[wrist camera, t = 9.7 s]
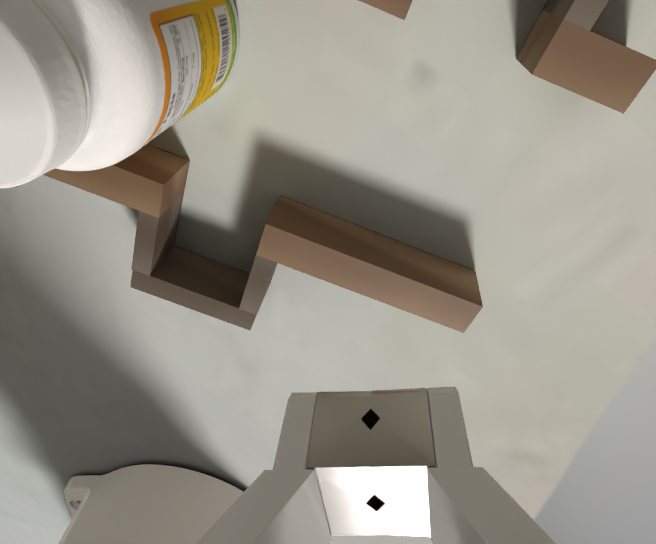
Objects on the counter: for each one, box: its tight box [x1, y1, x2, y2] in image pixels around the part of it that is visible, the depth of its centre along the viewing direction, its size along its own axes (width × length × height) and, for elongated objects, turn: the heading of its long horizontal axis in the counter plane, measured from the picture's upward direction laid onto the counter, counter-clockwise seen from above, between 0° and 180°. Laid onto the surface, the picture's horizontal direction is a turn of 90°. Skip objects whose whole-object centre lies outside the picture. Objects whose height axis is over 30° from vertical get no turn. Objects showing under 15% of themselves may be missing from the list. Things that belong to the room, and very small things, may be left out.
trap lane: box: [43, 0, 656, 333], centre depth 16 cm, size 19×20×2 cm
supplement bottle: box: [0, 0, 240, 188], centre depth 13 cm, size 5×5×10 cm
